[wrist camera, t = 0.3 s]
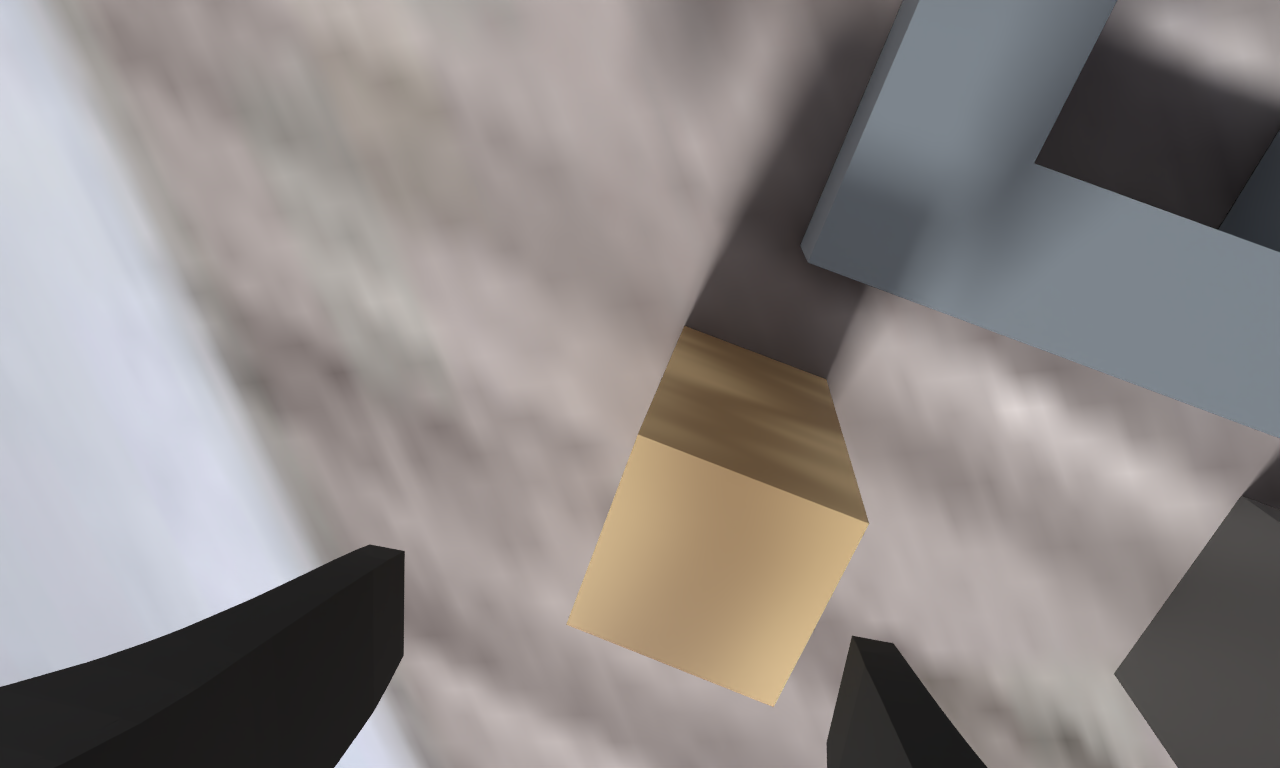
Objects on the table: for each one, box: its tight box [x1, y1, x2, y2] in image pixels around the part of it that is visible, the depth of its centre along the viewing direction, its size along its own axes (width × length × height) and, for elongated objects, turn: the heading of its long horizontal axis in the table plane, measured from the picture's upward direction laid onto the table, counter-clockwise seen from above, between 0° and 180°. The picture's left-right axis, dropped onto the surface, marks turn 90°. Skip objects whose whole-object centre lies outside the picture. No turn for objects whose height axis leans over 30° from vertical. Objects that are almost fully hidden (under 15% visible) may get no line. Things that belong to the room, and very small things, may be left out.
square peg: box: [566, 326, 869, 707], centre depth 16 cm, size 4×4×8 cm
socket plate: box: [800, 0, 1280, 438], centre depth 15 cm, size 12×12×3 cm
